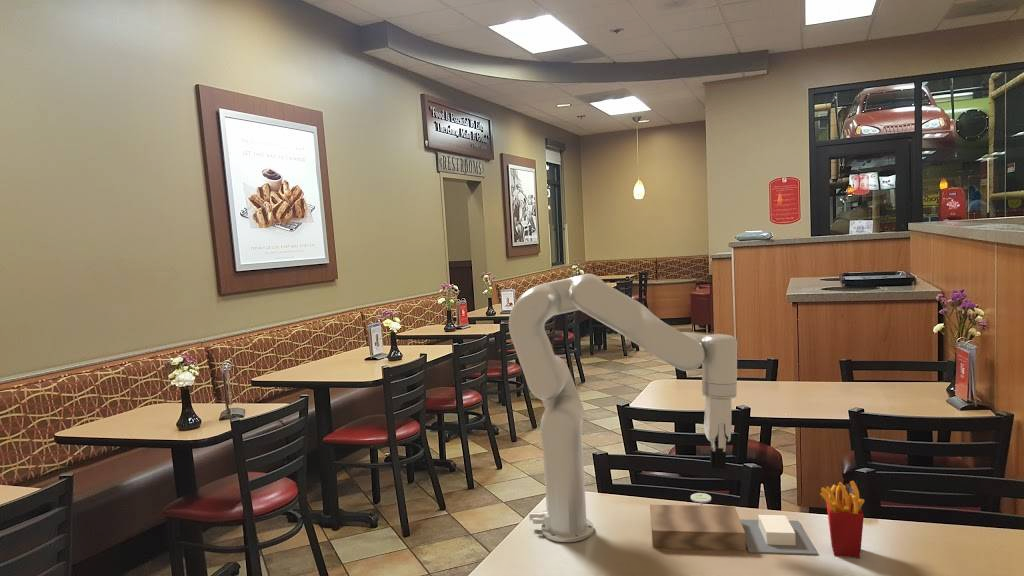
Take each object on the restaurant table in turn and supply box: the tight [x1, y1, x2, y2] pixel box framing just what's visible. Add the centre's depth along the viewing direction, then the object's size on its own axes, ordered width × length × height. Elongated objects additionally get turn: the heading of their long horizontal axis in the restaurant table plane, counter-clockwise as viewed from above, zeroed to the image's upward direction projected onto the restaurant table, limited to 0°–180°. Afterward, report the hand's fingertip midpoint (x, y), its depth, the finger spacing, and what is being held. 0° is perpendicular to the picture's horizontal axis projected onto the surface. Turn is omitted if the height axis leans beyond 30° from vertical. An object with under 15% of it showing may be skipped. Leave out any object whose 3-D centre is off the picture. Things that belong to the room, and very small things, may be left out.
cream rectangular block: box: [757, 514, 796, 545], centre depth 143 cm, size 6×9×3 cm, turn 169°
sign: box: [690, 492, 712, 506], centre depth 162 cm, size 5×1×15 cm
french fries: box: [819, 480, 865, 559], centre depth 136 cm, size 9×8×15 cm
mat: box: [740, 518, 819, 556], centre depth 144 cm, size 14×16×1 cm
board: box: [649, 504, 747, 551], centre depth 147 cm, size 20×14×4 cm
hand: (717, 467), depth 145 cm, fingers closed
